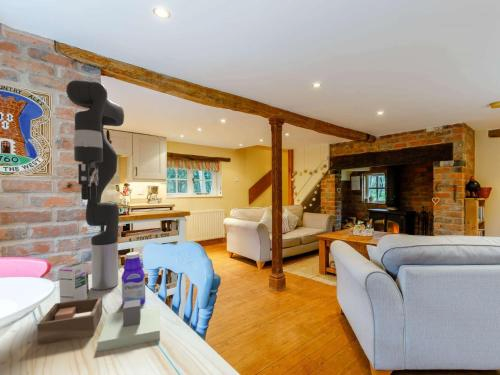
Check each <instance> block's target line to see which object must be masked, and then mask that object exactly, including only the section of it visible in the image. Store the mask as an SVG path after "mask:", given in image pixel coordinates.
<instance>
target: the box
mask: <svg viewBox="0 0 500 375" xmlns="http://www.w3.org/2000/svg"><path fill="white" fill-rule="evenodd" d="M70 307H76V314H79V313H85V312H92V313H91V315H86V316H79V317H73V318H67V319H60V320H55V315H56V313H57V312H58V311H59V309H63V308H70ZM102 316H103V296H100V297H92V298H91V297H90V298H89V299H84V300H77V301H70V302H62V303H60V302H57V303H56V302H55V303H54V305H53V306H52V307H51V308H50V309H49V311H48V312H47V313H46V314H45V316H43V317H42V319H41V320H40V321H39V322H38V324H37V344H38V345H37V346H42V345H48V344H53V343H58V342H65V341H69V340H75V339H81V338H86V337H93V336H95V333H96V332H97V329H98V326H99V323H100V321H101V319H102Z"/></svg>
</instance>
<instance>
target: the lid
mask: <svg viewBox="0 0 500 375" xmlns="http://www.w3.org/2000/svg"><path fill="white" fill-rule="evenodd" d="M141 305H142V304H141V303H140V300H134V301H127V302H125V303H124V306H123V308H122V312H116V313H115V312H114V313H109V314H107V316H106V318H105V321H104V324H103V326H102V329H101V332H100V335H99V338H98V339H97V340H98V341H97V352H102V351H107V350H111V349H116V348H123V347H127V346H133V345H138V344H143V343H146V342H147V343H148V342H152V341H158V340H160V339H161V333H160V332H161V326H160V325H161V324H160V321H161V320H160V317H161V316H160V306H153V307H148V308H142V307H141Z"/></svg>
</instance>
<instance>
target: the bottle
mask: <svg viewBox="0 0 500 375" xmlns="http://www.w3.org/2000/svg"><path fill="white" fill-rule="evenodd" d="M140 258H141V257H140V252H139V251H131V252H128V253H126V254H125V263H124V266H123V272H122V274H121V277H120V278H121V296H122V297H121V300H122V301H121V303H122V306H123V307H124V303H125V302H127V301H134V300H140V303H141V305H142V304H143V305H144V303H145V302H146V276H145V275H146V273H145V271H144V269H143V263H142V261H141V259H140Z"/></svg>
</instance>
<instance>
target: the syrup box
mask: <svg viewBox="0 0 500 375" xmlns="http://www.w3.org/2000/svg"><path fill="white" fill-rule="evenodd" d="M88 264H89V263H88V262H84V261H83V262H82V261H77V262H75V261H74V262H71V263H69V264H66V265H63V266H60V267H59V268H58V280H59V283H58V285H59V288H58V289H59V303H62V302H70V301H77V300H84V299H90V290H89V288H90V286H89V265H88Z"/></svg>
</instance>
